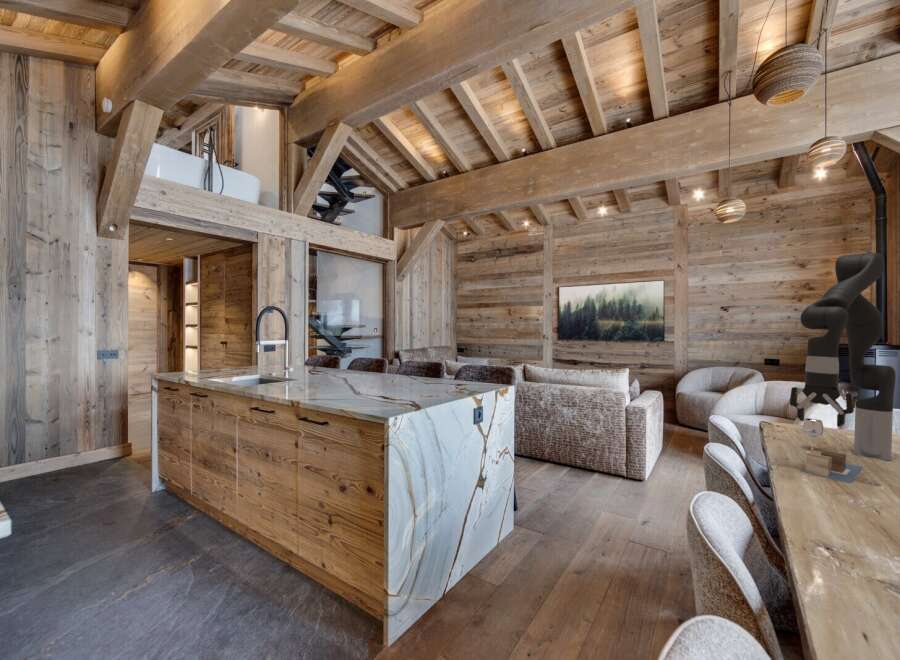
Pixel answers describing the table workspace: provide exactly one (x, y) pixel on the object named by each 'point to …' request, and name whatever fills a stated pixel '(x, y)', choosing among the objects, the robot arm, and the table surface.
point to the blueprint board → (846, 475)
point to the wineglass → (813, 428)
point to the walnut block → (836, 460)
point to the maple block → (818, 464)
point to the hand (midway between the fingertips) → (819, 423)
